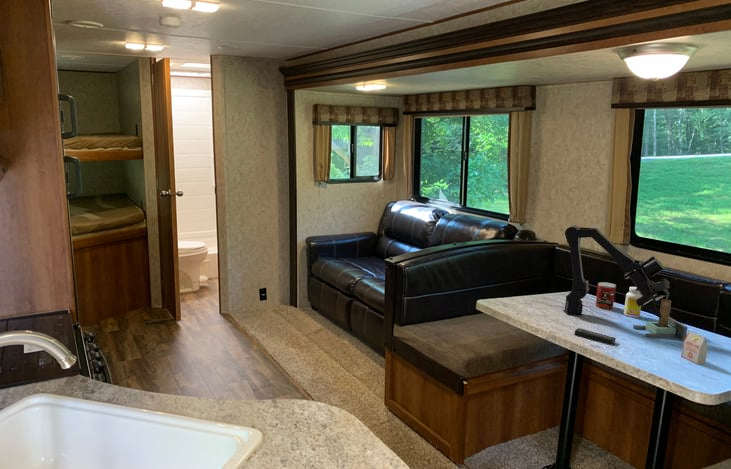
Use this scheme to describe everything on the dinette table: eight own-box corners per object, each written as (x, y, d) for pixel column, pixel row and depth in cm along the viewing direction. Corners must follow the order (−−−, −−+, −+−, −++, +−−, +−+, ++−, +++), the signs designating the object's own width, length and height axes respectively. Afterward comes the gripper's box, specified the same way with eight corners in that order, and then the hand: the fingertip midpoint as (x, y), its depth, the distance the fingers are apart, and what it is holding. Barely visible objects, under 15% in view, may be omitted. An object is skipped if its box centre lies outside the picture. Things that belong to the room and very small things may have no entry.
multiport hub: (611, 346, 211) (612, 340, 210) (573, 335, 220) (574, 330, 220) (615, 343, 214) (616, 337, 214) (578, 333, 224) (578, 327, 223)
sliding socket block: (655, 336, 223) (656, 328, 222) (645, 329, 230) (646, 321, 230) (674, 337, 223) (676, 329, 222) (663, 330, 231) (665, 322, 230)
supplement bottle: (642, 318, 246) (646, 290, 244) (627, 317, 246) (631, 289, 244) (635, 313, 253) (639, 286, 250) (620, 313, 253) (624, 285, 250)
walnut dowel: (660, 332, 225) (664, 301, 222) (655, 329, 228) (659, 299, 226) (668, 332, 225) (673, 302, 223) (663, 329, 228) (668, 299, 226)
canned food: (594, 307, 259) (597, 284, 257) (596, 303, 266) (599, 281, 264) (612, 310, 256) (615, 287, 254) (613, 306, 263) (616, 283, 261)
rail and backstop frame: (649, 340, 219) (652, 325, 217) (629, 326, 234) (631, 312, 233) (685, 341, 219) (687, 327, 218) (662, 327, 235) (664, 314, 234)
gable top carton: (689, 356, 204) (693, 330, 202) (704, 363, 197) (709, 337, 196) (681, 356, 203) (685, 330, 201) (696, 364, 196) (701, 337, 195)
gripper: (648, 275, 220) (673, 309, 214) (667, 269, 232) (692, 302, 226) (625, 289, 227) (649, 322, 221) (645, 283, 239) (668, 315, 233)
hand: (665, 315), depth 225 cm, fingers open, 9 cm apart
